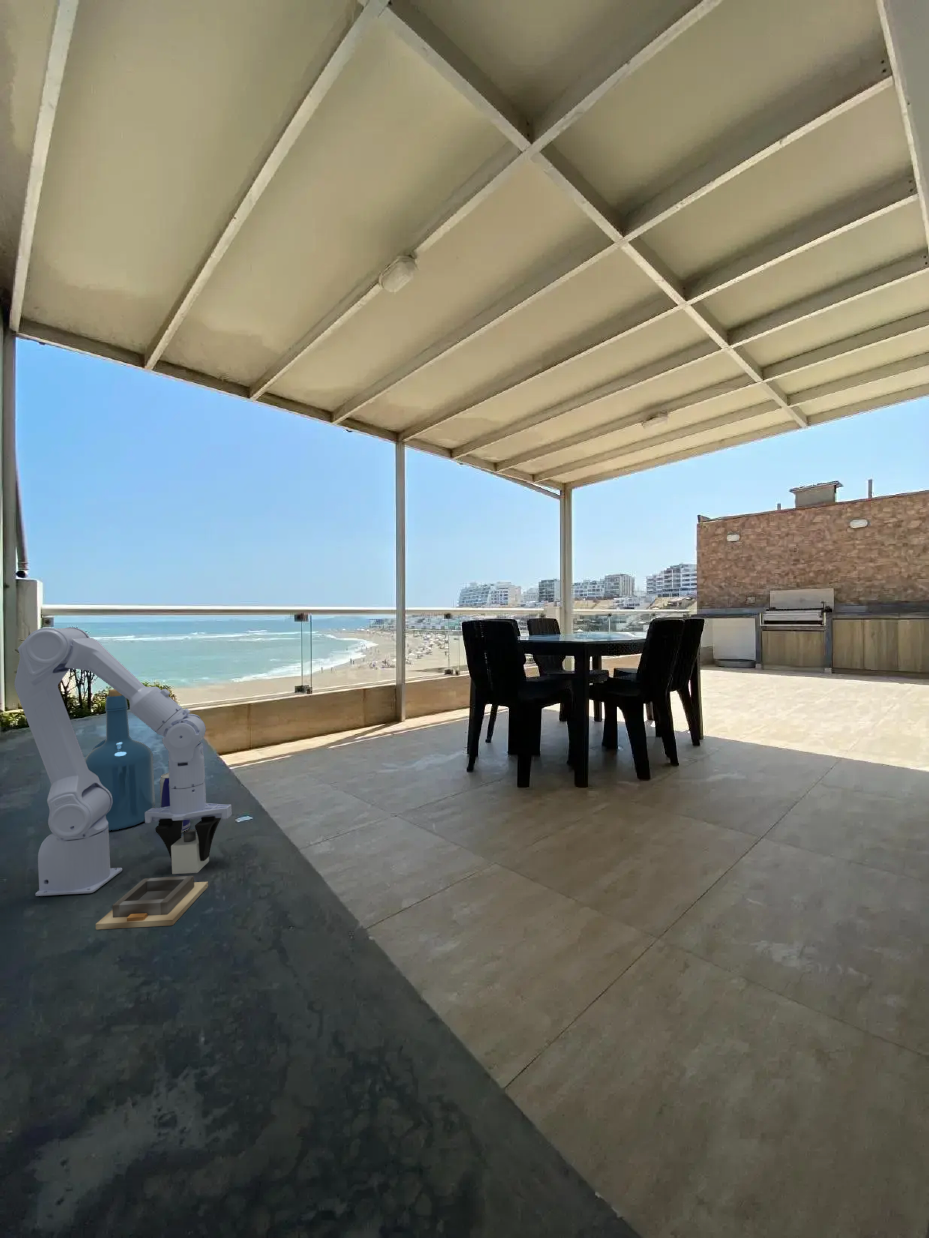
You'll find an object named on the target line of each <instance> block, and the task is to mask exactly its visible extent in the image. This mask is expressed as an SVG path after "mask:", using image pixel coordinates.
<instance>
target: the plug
mask: <svg viewBox="0 0 929 1238" xmlns="http://www.w3.org/2000/svg"><path fill="white" fill-rule="evenodd" d="M182 834H183V836H181V838H180V839H179V840H178V841H176V842H175V843H174V844H173V845H172V846H171V857H172V861H171V873H172V874H171V875H177V874H179V875H180V874H181V875H182V874H197V873H199V872H200V871H201V870H202V869H203V868H204V867H205V866H206V865H207V864H208V863H210V856H209V857H208V858H207V859H206V860H205V861H200V856H199V840H198V835H197V832H196V829H195V828H194V829H193V828H192V829H188V830H187V831H185V832H182Z"/></svg>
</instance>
